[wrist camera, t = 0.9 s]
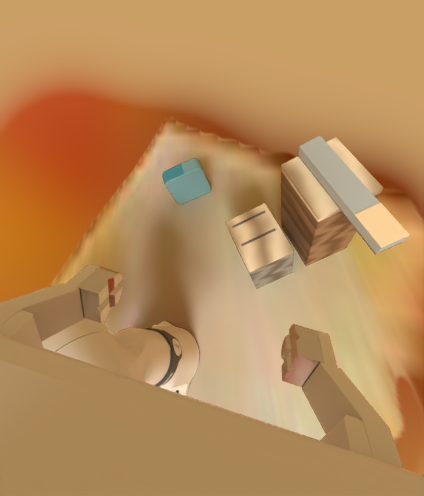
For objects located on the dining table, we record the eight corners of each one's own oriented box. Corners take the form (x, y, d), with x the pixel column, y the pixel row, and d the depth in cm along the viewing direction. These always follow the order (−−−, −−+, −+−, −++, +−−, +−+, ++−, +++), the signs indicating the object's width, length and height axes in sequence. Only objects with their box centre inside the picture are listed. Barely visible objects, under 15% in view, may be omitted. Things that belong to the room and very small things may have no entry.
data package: (208, 181, 82) (197, 156, 71) (212, 191, 80) (201, 166, 69) (176, 195, 83) (160, 172, 73) (179, 205, 81) (163, 183, 71)
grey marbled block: (256, 288, 64) (248, 271, 50) (236, 248, 70) (224, 222, 56) (291, 272, 63) (294, 250, 49) (268, 233, 69) (265, 202, 55)
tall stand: (306, 266, 63) (319, 217, 40) (281, 226, 69) (281, 164, 46) (346, 247, 62) (383, 187, 39) (318, 209, 68) (336, 137, 45)
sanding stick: (375, 254, 36) (381, 247, 33) (298, 156, 45) (298, 145, 43) (401, 242, 35) (409, 235, 33) (318, 146, 45) (320, 135, 43)
